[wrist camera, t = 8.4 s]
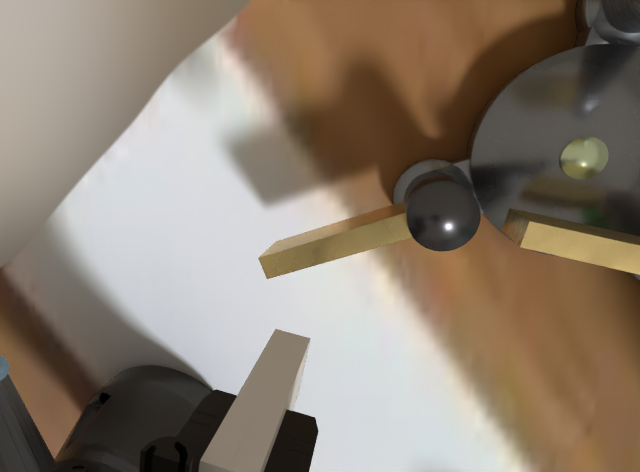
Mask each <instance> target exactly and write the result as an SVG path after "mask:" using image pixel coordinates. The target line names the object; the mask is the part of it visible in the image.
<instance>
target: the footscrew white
mask: <svg viewBox="0 0 640 472" xmlns="http://www.w3.org/2000/svg"><path fill="white" fill-rule="evenodd" d="M502 231H503V232H504V233H505V234H506V235H507V236H508V237H509V238H511V239H512V240H513V241H514V242H515V243H516V244H517V245H518V246H519V247H522V248H526V249H530V250H535V251H539V252H544V253H548V254H552V255H557V256H561V257H565V258H570V259H574V260H578V261H583V262H587V263H591V264H596V265H600V266H604V267H609V268H613V269H617V270H622V271H626V272H630V273H635V274H639V275H640V236H636V235H631V234H627V233H622V232H617V231H613V230H608V229H604V228H599V227H594V226H590V225H585V224H581V223H576V222H572V221H567V220H562V219H558V218H553V217H549V216H544V215H540V214H535V213H530V212H526V211H521V210H517V209H512V208H509V210H508V213H507V216H506V219H505V222H504V224H503V227H502Z"/></svg>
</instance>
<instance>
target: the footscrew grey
mask: <svg viewBox="0 0 640 472" xmlns="http://www.w3.org/2000/svg"><path fill="white" fill-rule="evenodd" d="M603 11H604V15H605V17H606V19H607V21H608V22H609V24H610V25H611V26H612V27H614V28H615V29H617V30H619V31H621V32H624V33H640V0H603Z"/></svg>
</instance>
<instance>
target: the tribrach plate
mask: <svg viewBox="0 0 640 472" xmlns="http://www.w3.org/2000/svg"><path fill="white" fill-rule="evenodd" d="M575 20H576V25H577V29H578V31H579V35H578V38H577V41H576V43H575V46H574V48H573V49H570V50H567V51H563V52H560V53H558V54H556V55H553V56H551V57H549V58H546V59H544V60H542V61H540V62H538V63H536V64H534V65H532V66H530V67H529V68H527V69H525V70H523V71H522V72H520V73H519V74H517V75H516V76H514V77H513V78H512V79H510V80H509V81H508V82H507V83H506V84H505V85H503V86H502V87H501V88H500V89H499V90H498V91H497V92H496V93H495V95H494V96H493V97H492V98H491V99H490V100H489V101H488V103H487V104H486V106H485V107H484V109H483V110H482V112H481V113H480V115H479V117H478V119H477V121H476V123H475V125H474V128H473V130H472V133H471V136H470V139H469V143H468V148H467V156H466V157H465V158H462V159H459V160H456V161H452V162H448V161H445V160H441V159H424V160H420V161H418V162H415V163H414V164H412V165H410V166H409V167H407V168H406V169H405V170H404V171H403V172H402V174H401V175H400V176H399V178H398V180H397V182H396V184H395V187H394V192H393V204H397V203H400V202H403V201H404V195H405V191H406V189H407V187H408V185H409V184H410V182H411V181H412V180H413V179H414V178H416V177H417V176H419V175H421V174H423V173H426V172H431V171H437V172H442V173H445V174H447V175H449V176H451V177H452V178H453V179H455V180H456V181H457V182H458V183H460V184H461V185H462V186H464V187H465V188H466V189H467V190H469V191H470V192H471V193H472V194H473V195H474V197H475V198H476V200H477V202H478V204H479V207H480V214H483V215H484V216H485V217H486V218H487V219H488V220H489V221H490V222H491V223H492V224H493V225H494V226H495V227H496V228H497V229H498V230H499V231H500V232H501V233H503V234H504V235H505V236H506V237H508V236H507V235H506V234H505V233H504V232H503V231H502V227H503V224H504V222H505V219H506V216H507V213H508V210H509V208H512V209H517V210H521V211H526V212H530V213H535V214H540V215H544V216H549V217H553V218H558V219H562V220H567V221H572V222H576V223H581V224H585V225H590V226H594V227H599V228H604V229H608V230H613V231H617V232H622V233H627V234H631V235H636V236H640V33H624V32H621V31H619V30H617V29H615V28H614V27H612V26H611V25H610V24H609V22H608V21H607V19H606V17H605V15H604V11H603V0H577V4H576V10H575ZM508 238H509V237H508ZM509 239H511V238H509ZM511 240H512V239H511ZM512 241H513V240H512ZM533 251H535V250H533ZM536 252H539V251H536ZM539 253H543V254H548V253H544V252H539ZM548 255H552V254H548ZM554 256H557V255H554ZM627 273H628V274H629V275H631V276H632V277H634V278H635V279H637V280H639V281H640V275H639V274H635V273H630V272H627Z"/></svg>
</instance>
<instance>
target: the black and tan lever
mask: <svg viewBox="0 0 640 472" xmlns="http://www.w3.org/2000/svg"><path fill="white" fill-rule="evenodd" d="M479 223H480V207H479V204H478V202H477V200H476V198H475V197H474V195H473V194H472V193H471V192H470V191H469V190H467V189H466V188H465V187H464V186H462V185H461V184H460V183H458V182H457V181H456V180H455V179H453V178H452V177H451V176H449V175H447V174H445V173H442V172H437V171H431V172H426V173H423V174H421V175H419V176H417V177H416V178H414V179H413V180H412V181H411V182H410V184H409V185H408V187H407V189H406V191H405V195H404V201H403V202H400V203H397V204H394V205H391V206H388V207H384V208H381V209H378V210H375V211H372V212H368V213H365V214H362V215H359V216H356V217H353V218H349V219H346V220H343V221H340V222H337V223H333V224H330V225H327V226H324V227H321V228H318V229H314V230H311V231H308V232H305V233H302V234H298V235H295V236H292V237H289V238H286V239H283V240H279V241H276V242H275V243H274V244H273V245H272V246H271V247H270V248H269V249H267V250H266V251H265V252H264V253H263V254H262V255H261V256H260V257H259V261H260V263H261V266H262V268H263V270H264V273H265V275H266V278H267V279H269V278H273V277H276V276H280V275H283V274H287V273H290V272H294V271H297V270H301V269H304V268H308V267H311V266H315V265H318V264H322V263H325V262H329V261H332V260H336V259H339V258H343V257H346V256H349V255H353V254H356V253H360V252H363V251H367V250H370V249H374V248H377V247H381V246H384V245H388V244H391V243H395V242H398V241H402V240H405V239H409V238H412V237H413V238H414V239H415V240H416V241H417V242H418V243H419V244H420V245H422V246H424V247H425V248H428V249H431V250H434V251H450V250H454V249H457V248H459V247H461V246H463V245H464V244H466V243H467V242H468V241H469V240H470V239H471V238H472V237H473V236H474V234H475V233H476V231H477V229H478V226H479Z"/></svg>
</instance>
